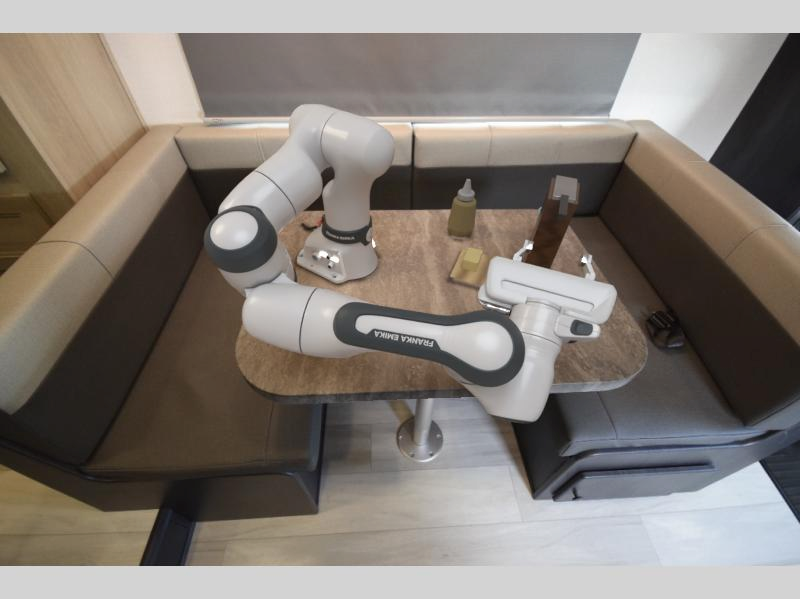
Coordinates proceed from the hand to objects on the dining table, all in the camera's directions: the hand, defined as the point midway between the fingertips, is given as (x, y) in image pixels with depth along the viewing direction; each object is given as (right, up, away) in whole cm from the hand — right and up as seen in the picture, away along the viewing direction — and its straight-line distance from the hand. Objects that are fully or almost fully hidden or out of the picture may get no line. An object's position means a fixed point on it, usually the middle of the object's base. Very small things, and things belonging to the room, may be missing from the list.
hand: (557, 248), depth 60 cm
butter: (-7, +1, +36) cm, 37 cm away
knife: (+7, +12, +13) cm, 19 cm away
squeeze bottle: (-9, +11, +48) cm, 51 cm away
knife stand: (+8, -3, +35) cm, 36 cm away
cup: (+16, +8, +47) cm, 50 cm away
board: (-4, -2, +36) cm, 36 cm away
